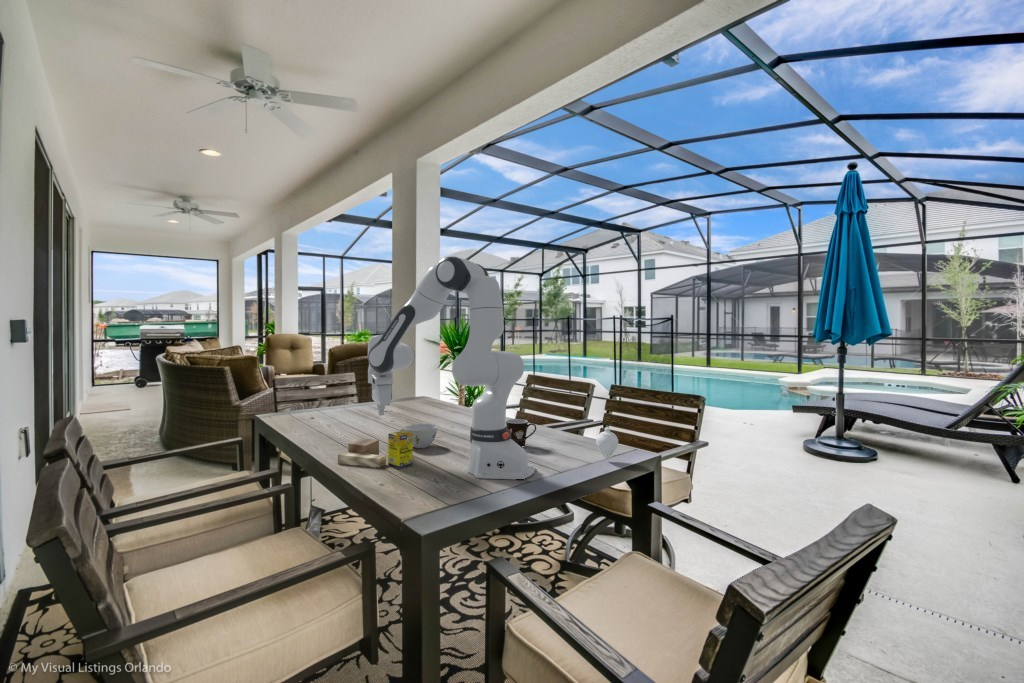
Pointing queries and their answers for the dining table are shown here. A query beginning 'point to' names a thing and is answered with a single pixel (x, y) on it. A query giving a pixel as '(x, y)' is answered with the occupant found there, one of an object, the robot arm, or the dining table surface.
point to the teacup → (422, 434)
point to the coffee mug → (519, 430)
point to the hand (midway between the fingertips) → (381, 414)
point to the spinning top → (607, 442)
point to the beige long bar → (361, 459)
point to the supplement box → (400, 449)
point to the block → (364, 446)
